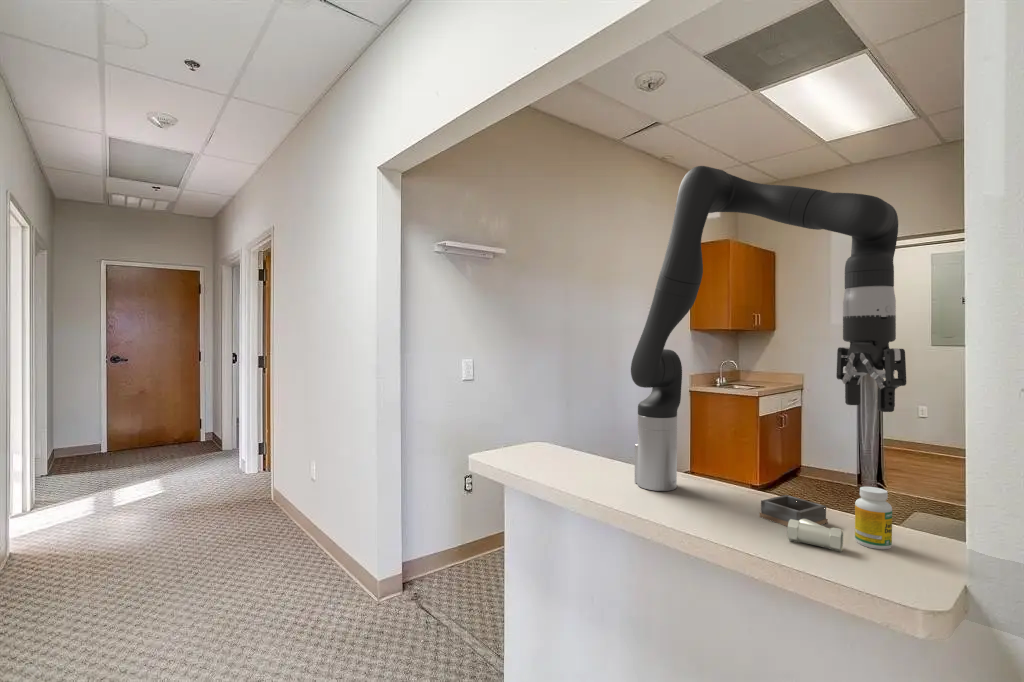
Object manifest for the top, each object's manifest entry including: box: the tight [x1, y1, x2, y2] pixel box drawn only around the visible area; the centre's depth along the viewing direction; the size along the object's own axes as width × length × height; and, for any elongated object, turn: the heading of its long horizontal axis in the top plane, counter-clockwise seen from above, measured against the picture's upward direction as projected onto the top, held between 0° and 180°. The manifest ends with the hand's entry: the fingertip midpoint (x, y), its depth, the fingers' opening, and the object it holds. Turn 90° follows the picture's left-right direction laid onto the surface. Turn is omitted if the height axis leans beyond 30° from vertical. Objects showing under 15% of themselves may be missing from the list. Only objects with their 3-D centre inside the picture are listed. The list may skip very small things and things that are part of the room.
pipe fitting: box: [786, 519, 844, 553], centre depth 91 cm, size 8×4×7 cm
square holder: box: [758, 494, 829, 527], centre depth 102 cm, size 9×9×3 cm
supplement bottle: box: [854, 486, 893, 550], centre depth 90 cm, size 5×5×10 cm
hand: (868, 408), depth 89 cm, fingers open, 8 cm apart
